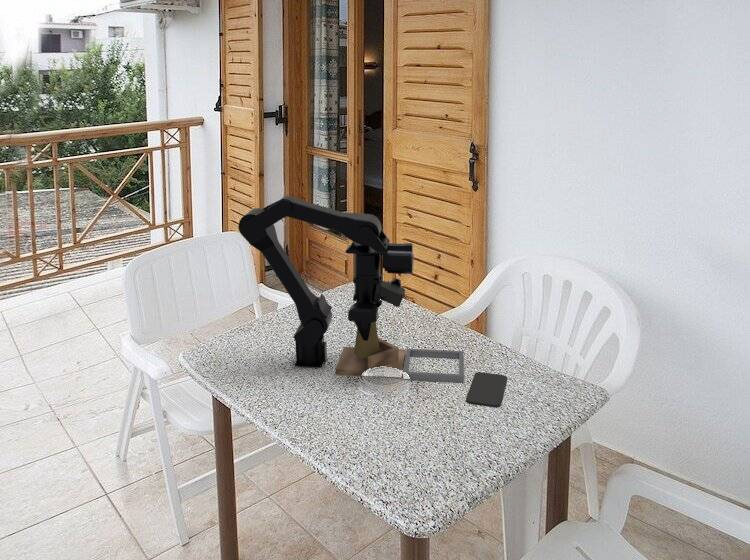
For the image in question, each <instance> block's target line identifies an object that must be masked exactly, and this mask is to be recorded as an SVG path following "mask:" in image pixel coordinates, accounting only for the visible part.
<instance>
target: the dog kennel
mask: <svg viewBox="0 0 750 560" xmlns="http://www.w3.org/2000/svg"><path fill="white" fill-rule="evenodd" d="M378 341H379V349H380V353H377V354H374V355H371V356H368V358H364V357H359V356H357V355H355V354H354V349H355V346H343V348H342V351H341V352H340V357H339V359H338V361H337V364H336V367H335V376H348V377H351V376H353V377H362V376H361V375H362V373H363V372H364V371H366V370H367V369H369V368H371V369H372V368H374V367H380V366H386V367H392V368H397V369H399V370H403V368H404V362H405V356H406V350H407V349H404V348H403V349H401V348H400V349H399V347H398V346H396V345H394V344H392V343H391V342H388V341H386V340H384V339H382V338H380V337H378Z"/></svg>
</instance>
